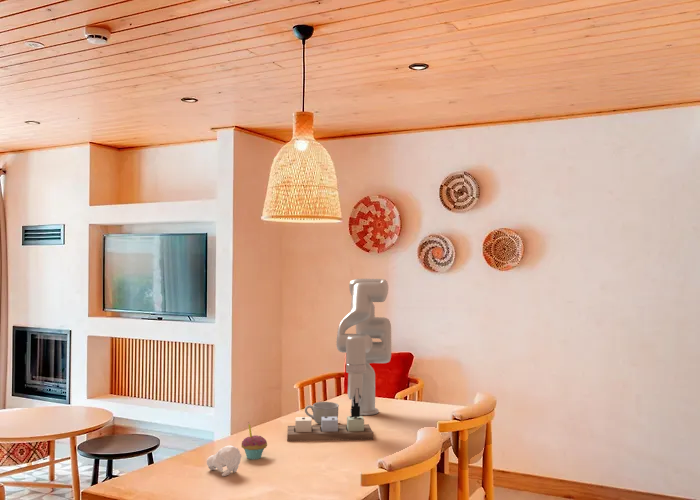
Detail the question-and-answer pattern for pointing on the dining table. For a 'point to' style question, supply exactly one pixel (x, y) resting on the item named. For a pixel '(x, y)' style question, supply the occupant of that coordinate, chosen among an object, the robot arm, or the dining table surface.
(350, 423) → the pale green block
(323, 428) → the white die
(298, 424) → the cream square block
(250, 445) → the cupcake
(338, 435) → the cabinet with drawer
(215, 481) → the dining table surface
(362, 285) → the robot arm
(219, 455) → the white animal figurine
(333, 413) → the teacup
